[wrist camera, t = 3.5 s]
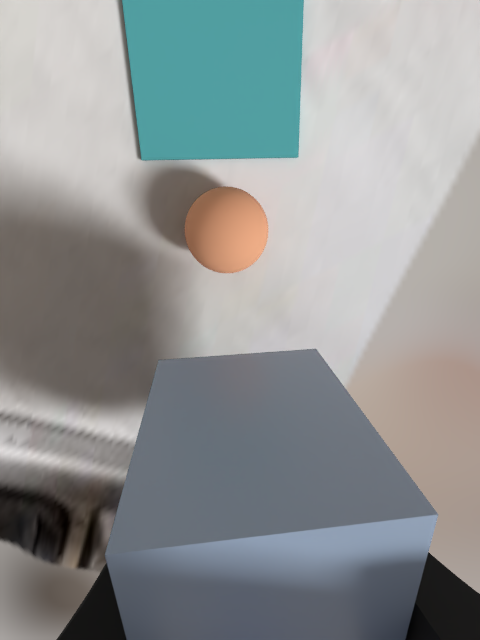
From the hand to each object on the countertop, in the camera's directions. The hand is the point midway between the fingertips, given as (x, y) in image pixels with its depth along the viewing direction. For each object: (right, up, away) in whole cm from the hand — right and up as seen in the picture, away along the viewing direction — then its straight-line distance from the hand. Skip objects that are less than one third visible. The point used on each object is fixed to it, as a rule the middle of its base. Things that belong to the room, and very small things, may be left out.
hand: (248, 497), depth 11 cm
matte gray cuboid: (0, +1, +2) cm, 2 cm away
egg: (-1, +10, +3) cm, 11 cm away
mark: (-1, +17, +2) cm, 17 cm away
